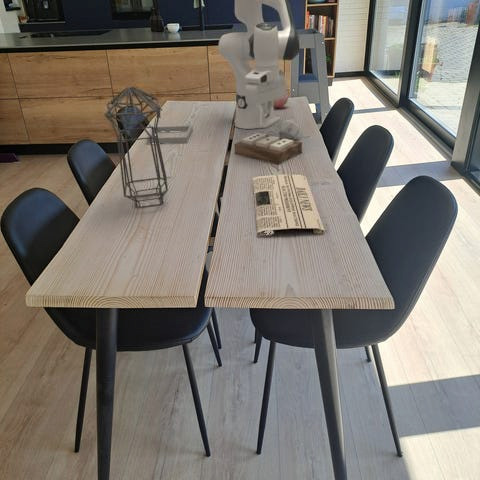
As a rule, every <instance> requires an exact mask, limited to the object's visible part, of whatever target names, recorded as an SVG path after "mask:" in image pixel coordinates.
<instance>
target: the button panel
mask: <svg viewBox="0 0 480 480" xmlns="http://www.w3.org/2000/svg"><path fill="white" fill-rule="evenodd" d="M265 135H266V137H269V136H270V135H267V134H265ZM280 140H282V138H281V137H279V141H280ZM233 145H234V147H233V149H234V154H235V155H239V156H243V157H247V158H250V159H255V160H258V161H262V162H267V163H271V164H273V165H274V164H275V165H278V166H279V165H280V164H282V163H284V162H286V161H288V160H290V159H291V158H292V159H293V158H294V157H296V156H299V155H300V154H302V153H303V152H302V151H303V142H301V141H297V140H293V145H291V146H289V147H287V148H285V149H283V150H281V151H277V150H272V149H270V146H269V147H266V148H263V147H259V146H256V143H255V144H253V145H250V144H245V143H243V139H242V140H240V141H238V142H235V143H234V144H233Z"/></svg>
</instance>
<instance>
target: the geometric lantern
mask: <svg viewBox="0 0 480 480" xmlns="http://www.w3.org/2000/svg"><path fill="white" fill-rule="evenodd" d="M133 96H134V97H135V98H136V100H137V101H138V103H135V101H134V98H133ZM125 97H126V99H125V100H126V101H125V102H122V100H124V98H125ZM155 101H156V102H155ZM159 101H160V99H159V98H157V97H155V96H153V95H151V94H150V93H147V92H146V91H143V90H141V89H139V88H136V87H135V86H132V85H130V86H127V87H125V88H124V89H122V91H121V92H119V93H118V94H117V95H115V96H114V98H113V99H112V98H111V100H110V101H109V102H107V103H106V106H107V110H106V112H105V113H104V117H106V119H107V120H109V122H110V124H111V126H112V128H113V130H114V133H115V136H116V139H117V141H116V142H117V148H118V157H119V165H120V174H121V181H122V191H123V196H124V198H127V199H129V200H131V201H134V202H135V208H139V209H143V208H148V207H154V206H155V207H157V206H161V205H163V204H164V199H163V197H164V196H165V194H167V192H168V191H169V189H168V177H167V173H166V169H165V164H164V159H163V158H164V157H163V155H162V149H161V144H159V139H158V138H159V135H158V134H159V133H158V131H157V127H159V126H158V125H159V119H161V111H164V110H163V108H162V107H161V105H159ZM143 103H145V104H146V105H144V107H143ZM110 105H111V106H110ZM121 105H124V106H125V107H123V106H121ZM128 106H131V109H130V110H129V108H128ZM136 106H140V111H137V110H136V109H137V108H136ZM148 107H150V108H151V109H152V110H148V111H144V110H146V108H148ZM117 108H119V109H122V110H124V112H121V113H114V112H115V110H116V109H117ZM143 111H144V112H143ZM155 113H156V116H155V117H156V118H154V126H151V124H150V123H149V122H148V120H147V119H148V118H149V117H150V116H152V115H154V114H155ZM146 114H147V115H146ZM144 115H146V116H144ZM116 116H123V117H124V118H125V120H126V122H125V121H124V120H121V119H120V118H118V117H116ZM127 116H128V117H127ZM132 116H135V117H136V118H135V119H136V121H137V122H132V123H130V120H131V117H132ZM138 116H140V117H142V118H141V119H140V120H139V118H138ZM114 120H116V121H118V122H120V123H122V124H124V125H125V127H124V129H121V130H120V128H119V127H118V125H117V124H116V123H115V121H114ZM144 121H145V122H146V124H148V126H144V125H143V124H142V123H143V122H144ZM135 125H139V126H140V127H135V128H128V127H131V126H135ZM155 127H156V128H155ZM147 129H151V132H152V135H153V136H151V135H150V133H149V131H148V130H147ZM153 129H154V130H153ZM117 130H118V132H117ZM132 130H144V132H145V133H146V134H147V135H148V136H149V137H148V136H147V137H148V138H147V137H140V138H130V139H129V138H128V136H127V135H128V134H127V131H132ZM154 132H155V134H156V136H154ZM123 135H124V137H125V139H123V138H122V137H123ZM152 138H153V142H154V144H152ZM147 139H150V144H149V145H150V148H151V152H152V156H153V157H152V158H153V164H154V168H155V174H156V177H152V178H151V177H150V178H145V179H144V178H143V179H142V178H141V179H135V180H134V179H133V174H132V165H131V156H130V150H129V141H140V140H147ZM155 141H156V144H155ZM123 142H125V145H126V146H125V147H126V154H127V159H126V155H125V150H124V149H125V148H124V143H123ZM126 160H128V165H127V161H126ZM158 160H159V161H158ZM159 163H160V164H159ZM159 165H160V166H159ZM127 166H128V167H129V168H128V167H127ZM160 168H161V171H160ZM128 169H129V170H128ZM160 172H161V173H162V177H161V173H160ZM153 180H154V181H155V180H157V186H156V187H152V188H147V189H141V190H140V189H139V190H137V188H136V186H135V184H134V183H138V182H140V183H141V182H145V181H146V182H147V181H153ZM161 180H162V181H163V183H162V184H161ZM131 184H132V186H133V187H132V188H131ZM163 186H165V187H164V188H165V190H164V191H163V190H162V187H163ZM127 188H128V192H129V195H127ZM133 189H134V190H133ZM152 190H156V192H155V193H148V194H140V195H138V193H140V192H147V191H152ZM152 196H159V197H155V198H145V199H139V200H138V199H137V198H143V197H152ZM153 200H159V203H156V204H148V205H143V206H141V203H140V202H144V201H153Z"/></svg>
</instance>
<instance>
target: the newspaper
mask: <svg viewBox="0 0 480 480" xmlns="http://www.w3.org/2000/svg"><path fill="white" fill-rule="evenodd" d="M252 187H253V199H254V210H255V211H254V212H255V221H256V222H255V223H256V233H257V234H256V235H257V237H259V238H261V237H264V236H263V235H266V234H267V233H264V232H265V231H267V230H274V231H277V230H289V229H312V230H313V233H314V234H321V235H324V234H325V228H324V226H323V222H322V219H321V217H320V214H319V212H318V208H317V205H316V203H315V200H314V197H313V194H312V191H311V188H310V184H309V183H308V180H307V176H305V175H302V174H273V175H272V174H271V175H261V176H260V175H259V176H255V177H253V178H252ZM270 233H271V232H270ZM270 233H269V236H275V234H274V235H272V234H270ZM259 235H260V236H259Z"/></svg>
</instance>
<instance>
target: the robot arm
mask: <svg viewBox="0 0 480 480" xmlns="http://www.w3.org/2000/svg"><path fill="white" fill-rule="evenodd" d="M263 4H264V5H266V6H269V7H271V8H274V10H275V11H277V13H278V14H279V20H280V22H281V27H282V30H278V26H277V24H275V23H273V22H268V21H267V22H265V21H264V18H263V8H262V7H263V6H262V5H263ZM234 15H235V18H236V19H237V20H238V21H239V22H241V23H243V24H245V26H246V28H247V31H245V32H244V31H243V32H241V31H238V32H235V31H234V32H229V33H225V34H223V35H221V37H220V38H219V41H218V52H219V55H220V56H221V57H222V58H223V59H224V60H225V61H226V62H227V63H228V64H229V65H230V66H231V69H232V71H233V73H234V76H235V77H234V78H235V86H236V93H235V100H236V103H237V104H236V105H235V118H234V120H233V121H234V126H235V127H236V128H239V129H243V130H244V129H246V130H249V129H250V130H252V129H266V128H269V127H270V126H272V125H273V124H275V123H276V122H278V121H279V120H280V117H279V116H277V115H275V108H274V107H273V106H274V105H273V103H274V99H277V98H280V97H283V96H285V95H286V93H287V91H288V88H287V78H286V76H285V72H284V71H283V70H281V69H280V61H292V60H294V59H295V58H296V57H297V56H298V55H299V54H300V50H301V40H300V37H299V34H298V31H297V28H296V25H295V21H294V16H293V14H292V9H291V4H290V2H289V0H234ZM279 60H280V61H279ZM249 61H254V63H253V67H252V66H251V64H250V62H249ZM287 94H288V93H287Z"/></svg>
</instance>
